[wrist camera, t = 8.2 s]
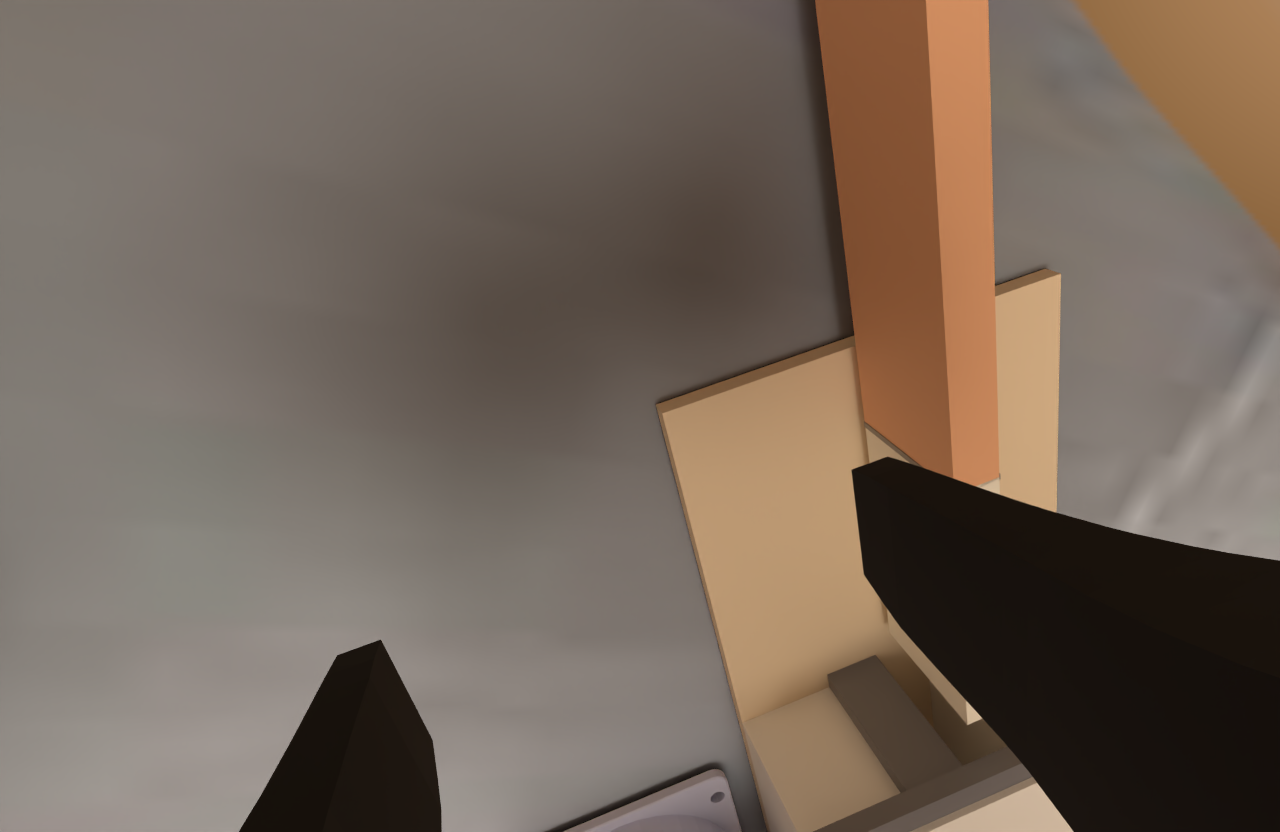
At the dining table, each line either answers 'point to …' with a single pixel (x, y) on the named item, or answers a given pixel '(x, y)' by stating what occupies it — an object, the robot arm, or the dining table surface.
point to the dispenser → (849, 589)
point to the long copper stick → (918, 235)
